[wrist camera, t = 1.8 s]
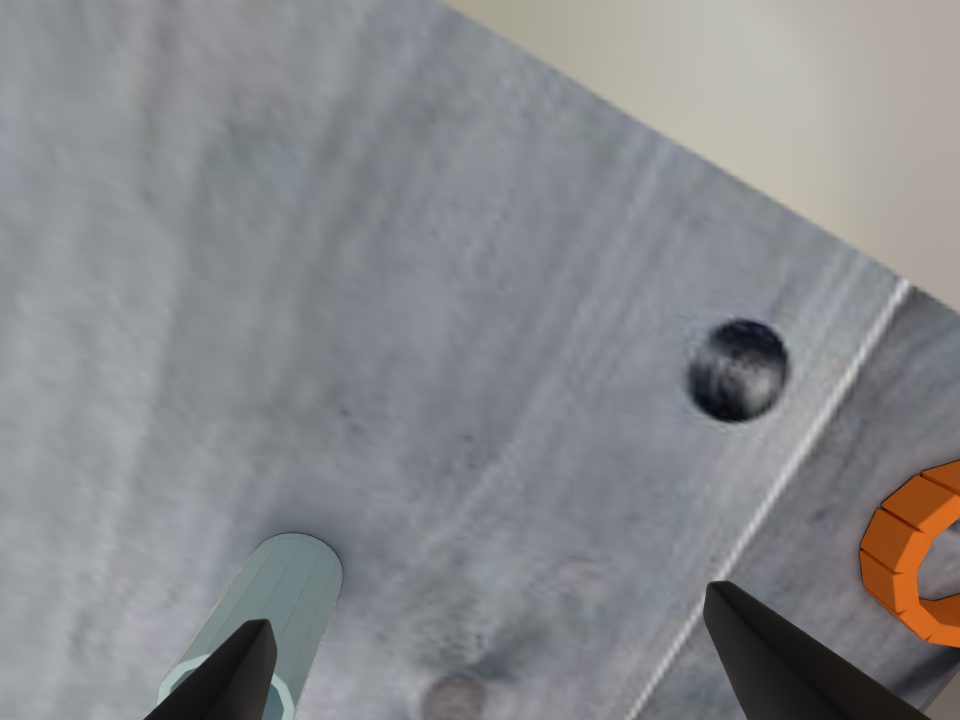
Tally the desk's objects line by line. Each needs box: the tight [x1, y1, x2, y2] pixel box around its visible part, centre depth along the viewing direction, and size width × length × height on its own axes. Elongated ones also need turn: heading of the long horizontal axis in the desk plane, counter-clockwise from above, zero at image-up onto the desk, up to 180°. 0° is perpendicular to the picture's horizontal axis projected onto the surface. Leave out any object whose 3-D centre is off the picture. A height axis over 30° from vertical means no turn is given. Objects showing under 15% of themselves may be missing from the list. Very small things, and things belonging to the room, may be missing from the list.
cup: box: [156, 533, 343, 720], centre depth 20 cm, size 5×5×7 cm
